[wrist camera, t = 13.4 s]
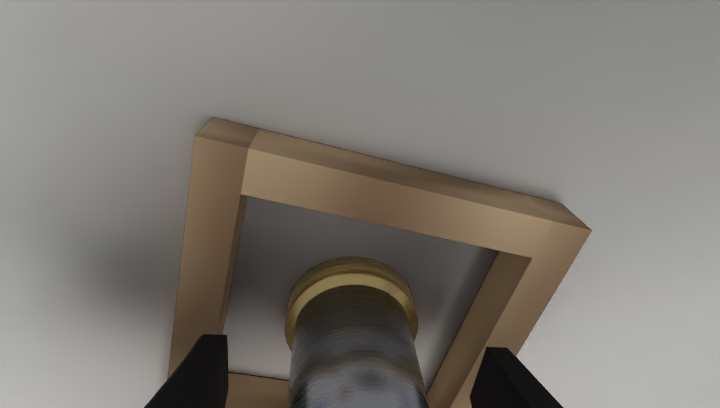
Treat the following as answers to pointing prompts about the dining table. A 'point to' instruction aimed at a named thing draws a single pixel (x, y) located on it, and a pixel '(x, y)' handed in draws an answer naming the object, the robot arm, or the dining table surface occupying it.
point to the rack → (375, 205)
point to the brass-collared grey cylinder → (353, 338)
